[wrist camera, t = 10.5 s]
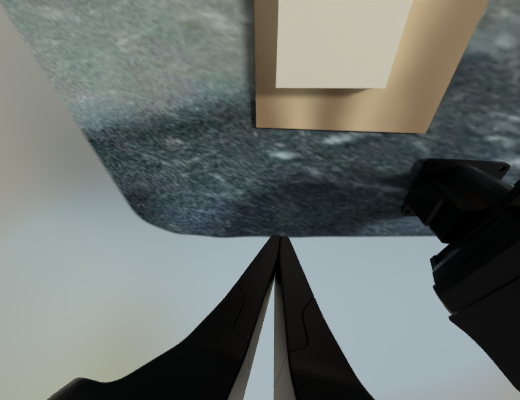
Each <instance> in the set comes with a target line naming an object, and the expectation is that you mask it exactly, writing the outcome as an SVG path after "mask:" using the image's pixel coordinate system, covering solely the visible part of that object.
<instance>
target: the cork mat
mask: <svg viewBox="0 0 520 400" xmlns="http://www.w3.org/2000/svg"><path fill="white" fill-rule="evenodd" d="M487 2H488V0H413V2H412V5H411V8H410V11H409V15H408V18H407V21H406V24H405V27H404V31H403V34H402V37H401V40H400V43H399V46H398V50H397V53H396V56H395V59H394V62H393V65H392V69H391V72H390V75H389V78H388V81H387V84H386V88H276V67H277V38H278V8H279V0H254V30H255V85H256V127H258V128H286V129H314V130H342V131H370V132H398V133H426V131H427V129H428V127H429V125H430V123H431V121H432V119H433V116H434V114H435V112H436V110H437V108H438V106H439V104H440V102H441V100H442V97H443V95H444V93H445V91H446V89H447V87H448V85H449V83H450V81H451V78H452V76H453V74H454V72H455V70H456V68H457V66H458V64H459V61H460V59H461V57H462V55H463V53H464V51H465V49H466V47H467V45H468V42H469V40H470V38H471V36H472V34H473V32H474V30H475V28H476V26H477V23H478V21H479V19H480V17H481V15H482V13H483V11H484V9H485V7H486V4H487Z"/></svg>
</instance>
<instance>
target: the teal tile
mask: <svg viewBox="0 0 520 400" xmlns="http://www.w3.org/2000/svg"><path fill="white" fill-rule="evenodd" d="M412 2H413V0H279V8H278V38H277V67H276V88H386V84H387V81H388V78H389V75H390V72H391V69H392V65H393V62H394V59H395V56H396V53H397V50H398V46H399V43H400V40H401V37H402V34H403V31H404V27H405V24H406V21H407V18H408V15H409V11H410V8H411V5H412Z"/></svg>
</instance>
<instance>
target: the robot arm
mask: <svg viewBox="0 0 520 400" xmlns="http://www.w3.org/2000/svg"><path fill="white" fill-rule="evenodd" d="M431 163H434V164H433V165H431V166H430V164H431ZM501 167H502V168H501ZM500 168H501V169H500ZM509 169H510V165H509V164H507V163H505V162H493V161H475V160H456V159H437V158H432V159H429V160H427V161H426V162H425V164H424V166H423V168H422V170H421V172H420V174H419V175H418V177H417V179H416V180H415V181H414V183H413V185H412V187H411V189H410V191H409V193H408V195H407V197H406V199H405V203H404V205H403V206H402V208H401V212H402V213H403V214H404V215H408V216H418V218H419V219H420V220H421V221H422V223H423V224H424V225H425V226H427V227H429V228H430V229H431V230H432V231H433V233H434V234H435V235H436V236H437V237H438V239H439V240H440V241H441V242H442V243H447V244H449V245H448V246H446V247H445V248H444V249H443V250H442V251H441V252H440V253H439V254H437V255H434V256H433V257H432V258H431V259H430V262H431V266H432V270H433V277H434V282H435V285H433V289H434V291H435V293H436V294H437V296H438V298H439V299H440V300H441V302H442V303H443V304H444V306H445V307H446V309H447V310H448V311H449V312H450V313H451V314H452V315H450V316H449V319H450V321H451V322H453V323H454V324H455V325H457V326H458V327H459V328H460V329H462V330H463V331H464V332H465V333H467V334H468V335H469V336H470V337H471V338H472V339H473V340H474V341H475V342H476V343H477V344H478V345H479V346H480V347H481V348H482V349H483V350H484V351H485V352H486V353H487V355H488V356H489V357H490V358H491V359H492V360H493V361H494V363H495V364H496V365H497V366H498V368H499V369H500V370H501V371H502V372H503V373H504V375H505V376H506V377H507V378H508V380H509V381H510V382H511V383H512V385H513V386H514V387H515V388H516V389H517V390H518V391H520V180H519V181H517V182H516V183H515V184H514V186H515V187H511V186H510V185H508V184H506V183H504V182H502V181H501V179H502V178H503V177H504V175H505V174H506V173H507V172H508V170H509ZM406 210H408V211H406ZM275 271H276V272H275ZM274 278H275V290H274V292H275V294H274V295H275V296H274V297H275V298H274V400H375V399H374V398H373V397H372V396H371V395H370V394H369V393H368V391H367V390H366V389H365V388H364V386H363V385H362V384H361V382H360V381H359V379H358V378H357V376H356V375H355V373H354V372H353V370H352V368H351V367H350V365H349V363H348V361H347V359H346V358H345V356H344V354H343V352H342V350H341V349H340V347H339V345H338V343H337V341H336V340H335V338H334V336H333V334H332V332H331V331H330V329H329V327H328V325H327V323H326V321H325V319H324V317H323V315H322V313H321V311H320V309H319V306H318V304H317V302H316V299H315V298H314V295H313V293H312V290H311V288H310V286H309V283H308V281H307V279H306V276H305V274H304V272H303V270H302V267H301V265H300V263H299V260H298V258H297V256H296V253H295V251H294V248H293V246H292V244H291V242H290V239H289V238H288V237H285V236H281V237H280V236H278V235H272V236H271V237H270V238H269V240H268V241H267V243H266V244H265V245H264V246H263V248H262V249H261V250H260V252H259V253H258V255H257V256H256V257H255V259H254V260H253V261H252V263H251V264H250V265H249V267H248V268H247V269H246V270H245V272H244V273H243V275H242V276H241V277H240V279H239V280H238V281H237V283H236V284H235V285H234V286H233V288H232V289H231V290H230V292H229V293H228V294H227V296H225V298H224V299H223V300H222V301H221V302H220V303H219V304H218V305H217V307H216V308H215V309H214V310H213V311H212V312H211V313H210V314H209V315H208V316H207V317H206V318H205V319H204V320H203V321H202V322H201V323H200V324H199V326H197V328H195V330H194V331H193V332H192V333H191V334H190V335H189V336H188V337H186V338H185V339H184V340H183V341H182V342H180V343H179V344H178V345H176V346H175V347H173V348H171V349H170V350H168V351H167V352H165V353H163V354H161V355H160V356H158V357H157V358H155V359H153V360H152V361H150V362H149V363H147V364H145V365H144V366H142V367H140V368H139V369H137V370H135V371H134V372H132V373H130V374H129V375H127V376H125V377H123V378H121V379H119V380H116V381H113V382H107V383H105V382H98V381H95V380H91V379H87V378H76V379H74V380H73V381H71V382H70V383H68V384H67V385H66V386H64V387H63V388H61V389H60V390H59V391H57V392H56V393H55V394H53V395H52V396H51V397H50V398H48V399H47V400H243V398H244V394H245V390H246V386H247V382H248V378H249V375H250V371H251V367H252V363H253V359H254V355H255V351H256V347H257V344H258V340H259V336H260V332H261V329H262V325H263V321H264V317H265V313H266V309H267V305H268V301H269V297H270V294H271V290H272V286H273V282H274Z"/></svg>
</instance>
